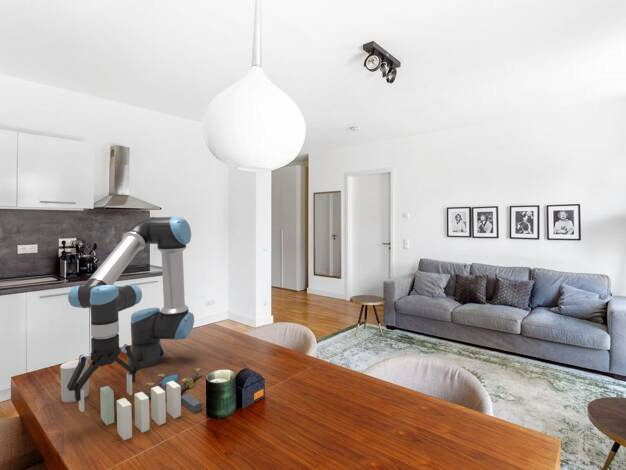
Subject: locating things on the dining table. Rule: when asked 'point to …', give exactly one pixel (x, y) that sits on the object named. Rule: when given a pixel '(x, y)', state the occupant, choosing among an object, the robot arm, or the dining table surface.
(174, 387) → the domino
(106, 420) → the domino
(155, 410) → the domino
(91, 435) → the dining table surface
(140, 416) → the domino
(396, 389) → the dining table surface
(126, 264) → the robot arm
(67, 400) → the cup
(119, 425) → the domino
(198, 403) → the stop bar
